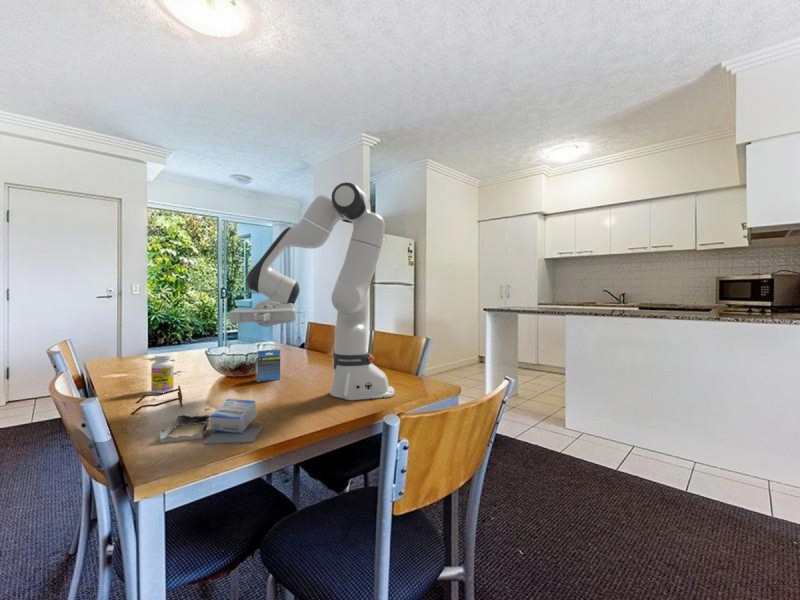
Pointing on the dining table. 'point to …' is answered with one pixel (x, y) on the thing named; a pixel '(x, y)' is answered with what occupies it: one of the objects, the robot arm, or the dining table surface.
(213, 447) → the dining table surface
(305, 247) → the robot arm
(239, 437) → the tip mat
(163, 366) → the supplement bottle
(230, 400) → the medicine box
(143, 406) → the glasses
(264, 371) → the label tape box
